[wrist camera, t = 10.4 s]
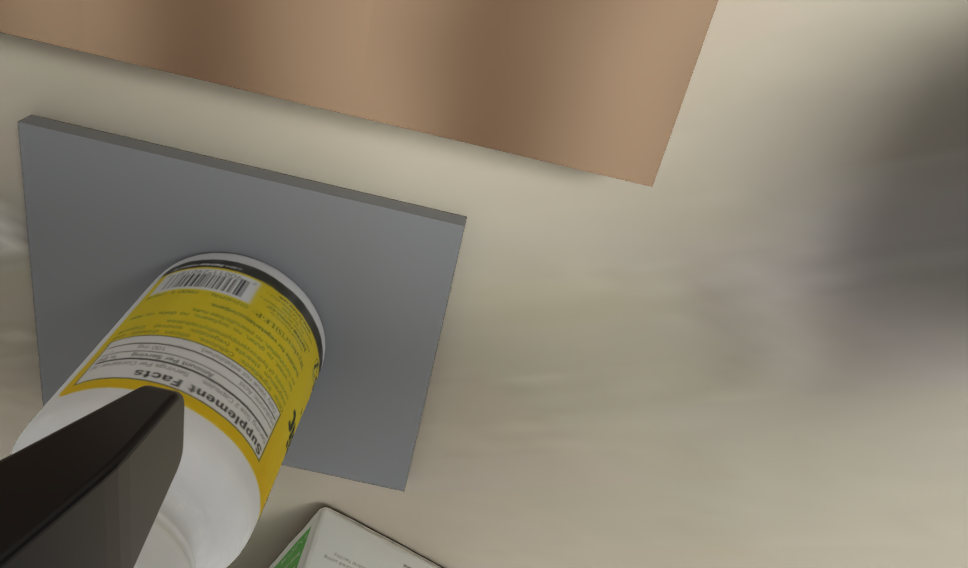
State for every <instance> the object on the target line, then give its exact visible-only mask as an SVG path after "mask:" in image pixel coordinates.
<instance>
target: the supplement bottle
mask: <svg viewBox="0 0 968 568" xmlns="http://www.w3.org/2000/svg"><path fill="white" fill-rule="evenodd" d="M324 355H325V335H324V330H323V326H322V323H321V320H320V318H319V315H318V313H317V311H316V309H315V307H314V306H313V304H312V303H311V301H310V300H309V298H308V297H307V296H306V294H305V293H304V292H303V291H302V290H301V289H300V288H299V287H298V286H297V285H296V284H295V283H294V282H293V281H292V280H290V279H289V278H288V277H287V276H285V275H284V274H283V273H281V272H280V271H278V270H277V269H275V268H273V267H272V266H270V265H268V264H266V263H263V262H261V261H258V260H256V259H253V258H249V257H246V256H242V255H237V254H229V253H207V254H200V255H196V256H193V257H189V258H186V259H184V260H182V261H179V262H177V263H176V264H174V265H172V266H171V267H169V268H168V269H166V270H165V271H164V272H163V273H162V274H160V275H159V276H158V277H157V278H156V279H155V280H154V282H153V283H152V284H151V285H150V286H149V287H148V288H147V289H146V291H145V292H144V293H143V294H142V295H141V296H140V297H139V298H138V300H137V301H136V302H135V303H134V304H133V305H132V306H131V308H130V309H129V310H128V311H127V312H126V313H125V314H124V316H123V317H122V318H121V319H120V320H119V321H118V323H117V324H116V325H115V326H114V327H113V328H112V329H111V331H110V332H109V333H108V334H107V335H106V336H105V337H104V338H103V340H102V341H101V342H100V343H99V344H98V345H97V346H96V348H95V349H94V350H93V351H92V352H91V353H90V354H89V356H88V357H87V358H86V359H85V360H84V361H83V362H82V364H81V365H80V366H79V367H78V368H77V369H76V370H75V372H74V373H73V374H72V375H71V376H70V377H69V378H68V380H67V381H66V382H65V383H64V384H63V385H62V386H61V387H60V389H59V390H58V391H57V392H56V393H55V394H54V395H53V396H52V398H51V399H50V400H49V401H48V402H47V403H46V404H45V405H44V407H43V408H42V409H41V410H40V411H39V412H38V413H37V414H36V416H35V417H34V418H33V419H32V420H31V421H30V423H29V424H28V425H27V426H26V428H25V429H24V430H23V432H22V433H21V434H20V436H19V438H18V439H17V441H16V442H15V445H14V447H13V449H12V452H11V454H13V453H15V452H17V451H19V450H21V449H23V448H25V447H27V446H29V445H31V444H32V443H34V442H36V441H38V440H40V439H42V438H44V437H46V436H48V435H50V434H51V433H53V432H55V431H57V430H59V429H61V428H63V427H65V426H67V425H69V424H71V423H72V422H74V421H76V420H78V419H80V418H82V417H84V416H86V415H88V414H90V413H91V412H93V411H95V410H97V409H99V408H101V407H103V406H105V405H107V404H109V403H110V402H112V401H114V400H116V399H118V398H120V397H122V396H124V395H126V394H128V393H130V392H131V391H133V390H135V389H137V388H139V387H142V386H146V385H151V386H156V387H160V388H165V389H169V390H174V391H177V392H179V393H180V394H181V395H182V396H183V399H184V440H183V453H182V457H181V461H180V464H179V467H178V470H177V472H176V474H175V476H174V479H173V481H172V483H171V485H170V488H169V490H168V492H167V494H166V497H165V499H164V501H163V503H162V505H161V508H160V510H159V512H158V514H157V517H156V519H155V521H154V523H153V526H152V528H151V530H150V532H149V535H148V537H147V539H146V541H145V543H144V546H143V548H142V550H141V552H140V555H139V557H138V559H137V561H136V564H135V566H134V568H226V567H228V566H229V565H230V564H231V563H232V562H233V561H234V560H235V559H236V558H237V557H238V556H239V555H240V553H241V552H242V550H243V549H244V547H245V546H246V544H247V542H248V540H249V539H250V537H251V535H252V532H253V530H254V528H255V526H256V524H257V522H258V520H259V517H260V515H261V513H262V510H263V508H264V505H265V503H266V501H267V498H268V496H269V493H270V491H271V488H272V486H273V483H274V481H275V479H276V476H277V474H278V471H279V469H280V467H281V464H282V462H283V460H284V457H285V455H286V453H287V451H288V448H289V446H290V443H291V441H292V438H293V436H294V433H295V431H296V428H297V426H298V424H299V422H300V419H301V417H302V414H303V412H304V410H305V407H306V405H307V403H308V401H309V398H310V396H311V394H312V391H313V389H314V387H315V384H316V382H317V379H318V376H319V373H320V371H321V368H322V365H323V360H324Z"/></svg>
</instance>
